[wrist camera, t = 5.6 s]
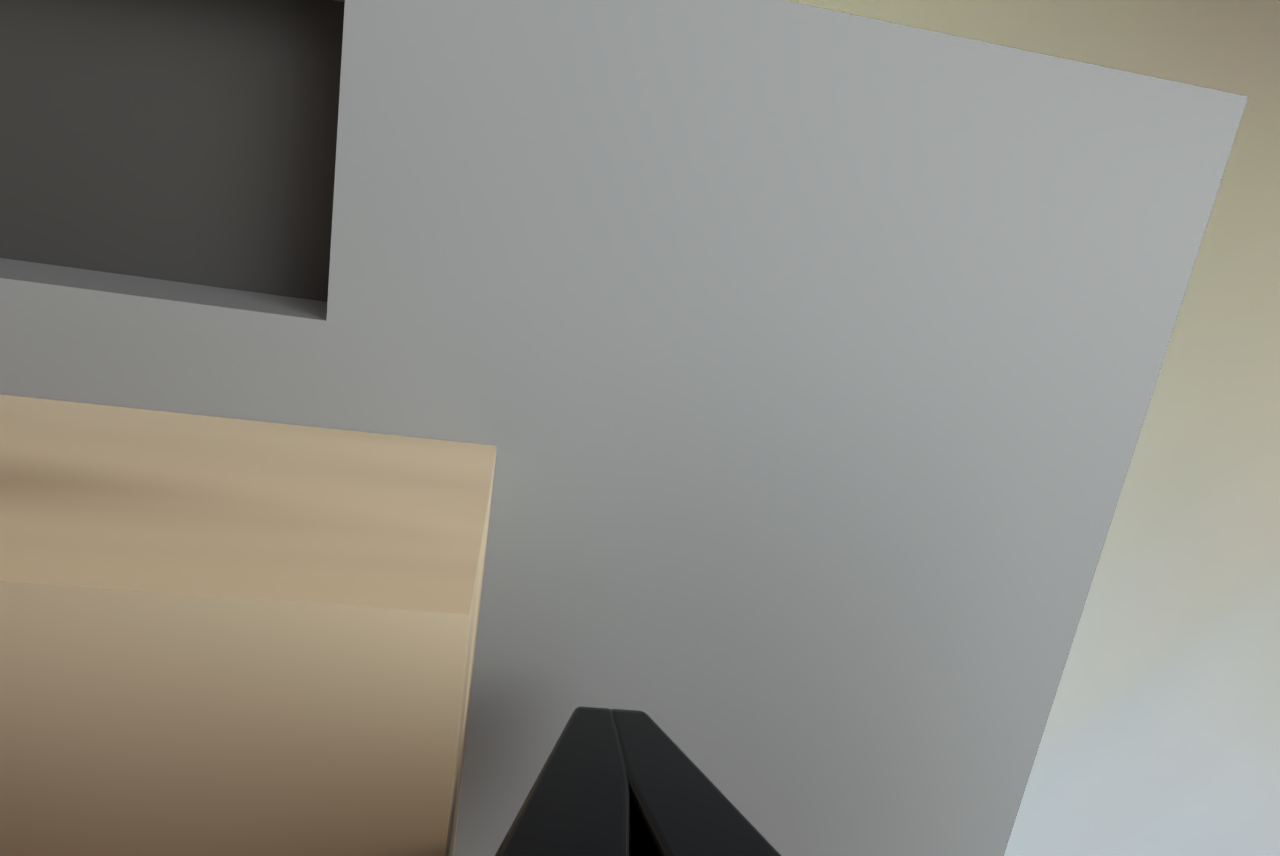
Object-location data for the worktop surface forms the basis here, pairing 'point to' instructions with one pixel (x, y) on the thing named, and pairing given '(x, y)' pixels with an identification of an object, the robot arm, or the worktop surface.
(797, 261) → the trap runway
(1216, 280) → the worktop surface
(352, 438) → the maple block
